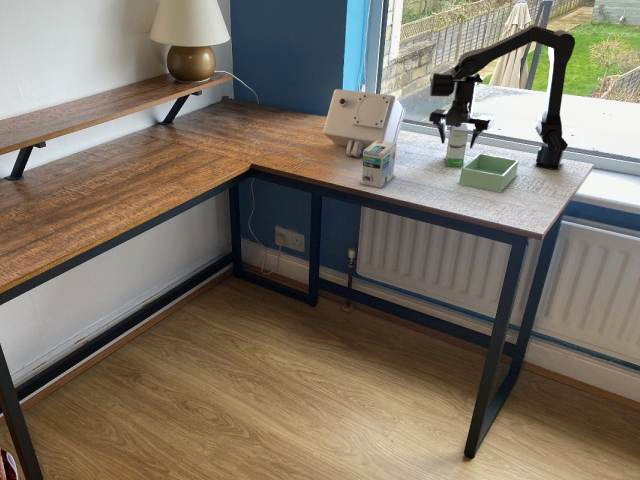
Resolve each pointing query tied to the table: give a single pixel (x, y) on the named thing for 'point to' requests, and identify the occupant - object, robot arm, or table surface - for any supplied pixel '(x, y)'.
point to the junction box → (363, 119)
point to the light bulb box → (378, 163)
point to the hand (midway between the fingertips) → (456, 145)
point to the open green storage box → (489, 172)
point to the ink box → (456, 145)
